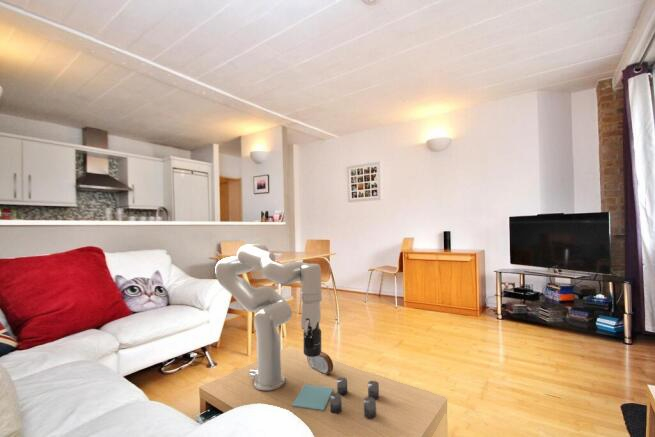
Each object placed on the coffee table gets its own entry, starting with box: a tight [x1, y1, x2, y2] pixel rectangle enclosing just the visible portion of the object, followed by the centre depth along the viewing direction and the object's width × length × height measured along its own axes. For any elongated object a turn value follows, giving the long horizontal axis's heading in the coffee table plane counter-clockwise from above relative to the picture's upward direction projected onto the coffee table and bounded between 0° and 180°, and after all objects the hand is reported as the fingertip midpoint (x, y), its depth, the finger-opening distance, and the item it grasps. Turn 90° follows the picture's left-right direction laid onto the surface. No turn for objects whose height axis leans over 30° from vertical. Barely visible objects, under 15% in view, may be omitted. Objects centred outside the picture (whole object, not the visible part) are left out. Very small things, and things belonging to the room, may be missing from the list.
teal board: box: [291, 384, 334, 412], centre depth 116 cm, size 12×14×1 cm
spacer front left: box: [329, 392, 343, 415], centre depth 108 cm, size 4×4×5 cm
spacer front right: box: [363, 396, 377, 420], centre depth 105 cm, size 4×4×5 cm
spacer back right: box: [367, 380, 380, 401], centre depth 115 cm, size 4×4×5 cm
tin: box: [306, 350, 334, 375], centre depth 137 cm, size 15×3×8 cm, turn 43°
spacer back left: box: [336, 376, 349, 397], centre depth 119 cm, size 4×4×5 cm
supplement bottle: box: [302, 322, 322, 357], centre depth 116 cm, size 7×7×12 cm
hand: (312, 343), depth 116 cm, fingers closed on supplement bottle, 6 cm apart
